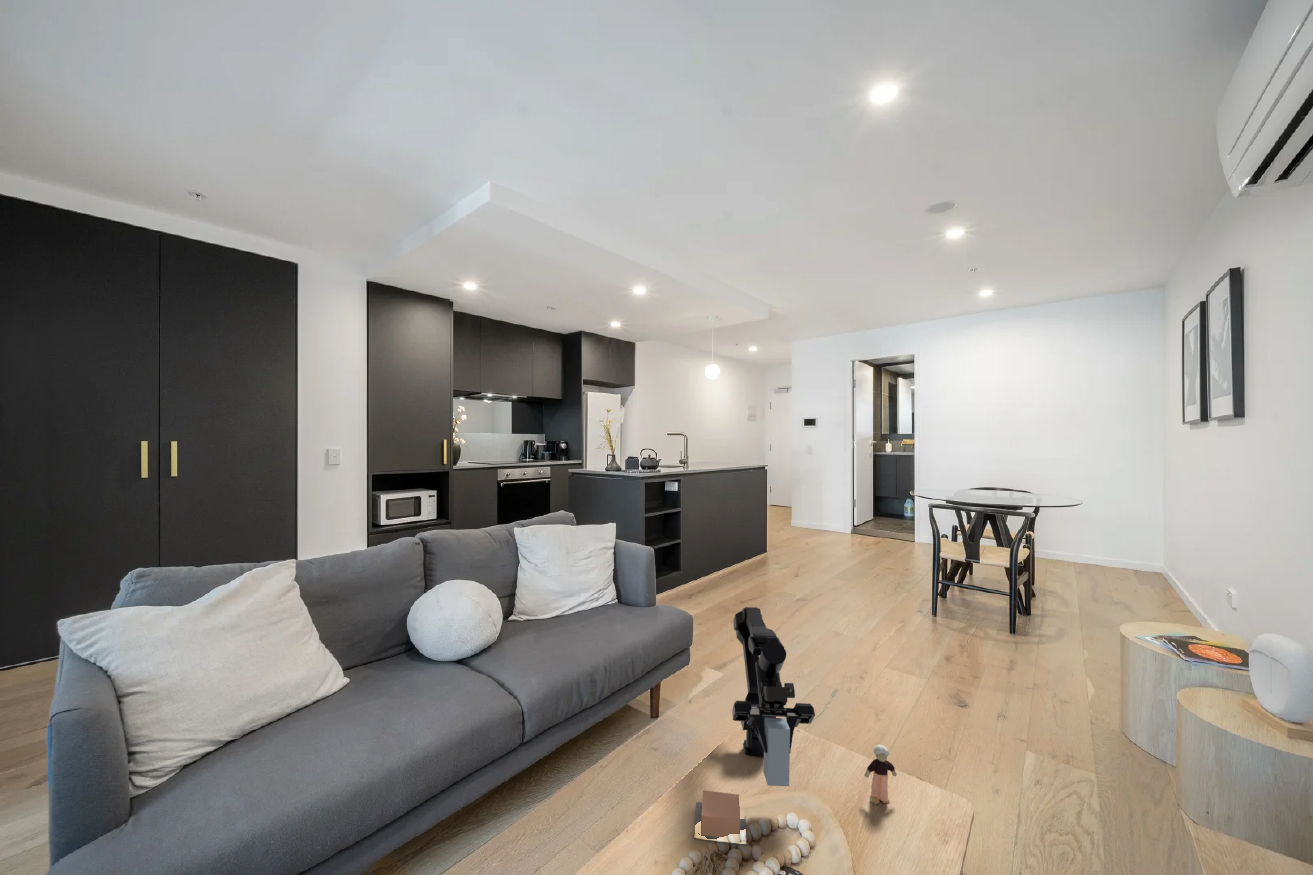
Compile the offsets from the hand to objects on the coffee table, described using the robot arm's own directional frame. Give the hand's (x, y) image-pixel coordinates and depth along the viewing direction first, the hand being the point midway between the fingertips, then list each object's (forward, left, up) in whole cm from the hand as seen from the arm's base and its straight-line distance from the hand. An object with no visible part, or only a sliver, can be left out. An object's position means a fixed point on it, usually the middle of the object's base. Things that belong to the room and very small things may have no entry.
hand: (777, 753), depth 113 cm
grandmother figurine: (-9, +25, -14) cm, 30 cm away
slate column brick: (-1, 0, -7) cm, 7 cm away
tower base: (+6, -13, -13) cm, 20 cm away
